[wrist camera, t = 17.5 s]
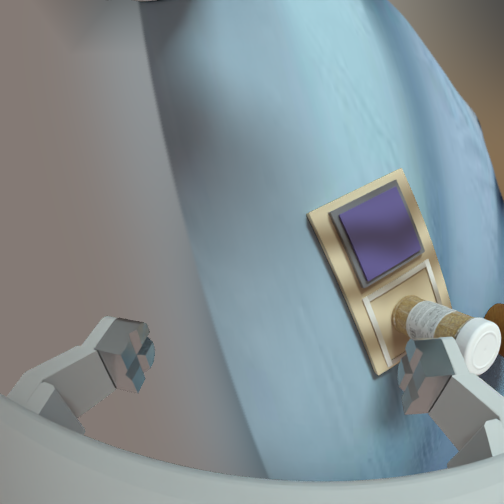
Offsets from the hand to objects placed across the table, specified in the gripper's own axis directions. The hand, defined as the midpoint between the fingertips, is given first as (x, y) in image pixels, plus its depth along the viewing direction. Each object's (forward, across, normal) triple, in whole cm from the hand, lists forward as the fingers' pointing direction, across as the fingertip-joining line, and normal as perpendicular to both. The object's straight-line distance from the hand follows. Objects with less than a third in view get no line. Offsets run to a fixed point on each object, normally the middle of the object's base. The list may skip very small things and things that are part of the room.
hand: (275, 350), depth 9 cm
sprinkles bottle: (+20, -13, +14) cm, 28 cm away
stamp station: (+23, -11, +11) cm, 27 cm away
